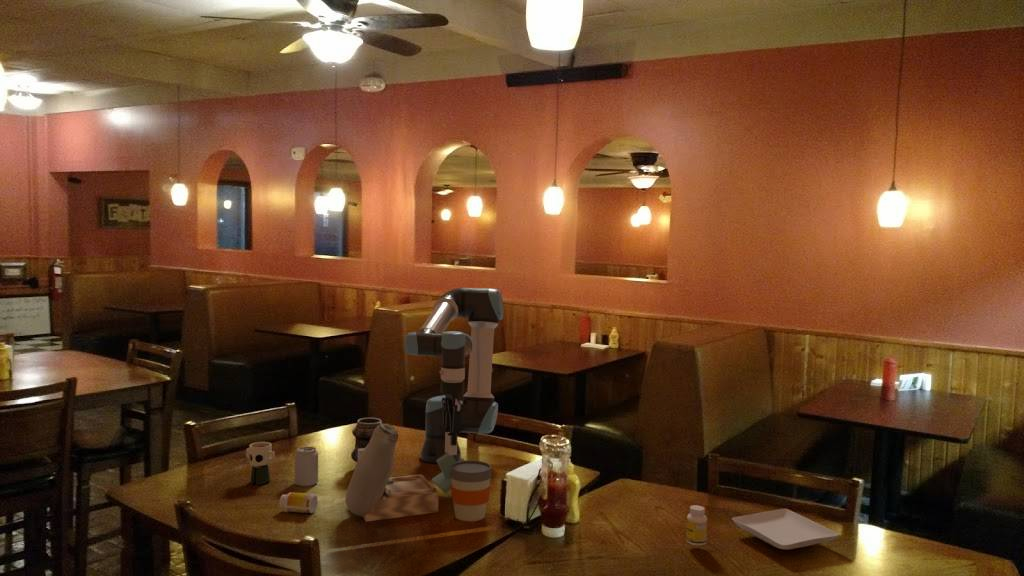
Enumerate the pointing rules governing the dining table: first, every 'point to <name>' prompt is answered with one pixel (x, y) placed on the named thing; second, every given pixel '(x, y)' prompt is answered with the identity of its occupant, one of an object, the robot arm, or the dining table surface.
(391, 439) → the brown rounded cylinder
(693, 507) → the supplement bottle
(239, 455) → the dining table surface
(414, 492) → the latch box
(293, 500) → the supplement bottle
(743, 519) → the salad plate
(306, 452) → the can
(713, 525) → the dining table surface
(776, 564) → the dining table surface
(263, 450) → the character mug
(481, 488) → the reusable coffee cup
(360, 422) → the apothecary jar
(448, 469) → the cover
